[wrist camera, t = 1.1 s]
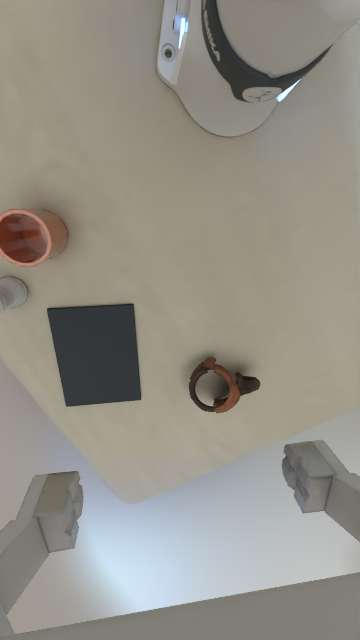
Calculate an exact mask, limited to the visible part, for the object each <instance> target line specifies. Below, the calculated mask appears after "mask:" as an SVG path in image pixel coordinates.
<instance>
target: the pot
mask: <svg viewBox="0 0 360 640" xmlns="http://www.w3.org/2000/svg"><path fill="white" fill-rule="evenodd" d="M67 241H68V232H67V229H66V226H65V224H64V223H63V221H62V220H61V219H60V218H59V217H58V216H57V215H56V214H54V213H52V212H50V211H47V210H36V209H11V210H8V211H6V212H4V213H2V214H0V254H1V255H2V256H3V257H4V258H5V259H7V260H8V261H9V262H11V263H13V264H16V265H19V266H23V267H26V266H35V265H37V264H40V263H42V262H44V261H46V260H48V259H50V258H52V257H54V256H55V255H57V254H59V253H60V252H62V251H63V250H64V248H65V247H66V245H67Z"/></svg>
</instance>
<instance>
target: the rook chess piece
mask: <svg viewBox="0 0 360 640" xmlns="http://www.w3.org/2000/svg"><path fill="white" fill-rule="evenodd" d="M26 298H27V289H26V287H25V285H24V284H23V283H22V282H21V281H20V280H18V279H15V278H13V277H5V278H2V279H0V314H1V313H2V311H3V310H4V309H5V307H6V308H14V307H17V306H19V305H21V304H23V303H24V302H25V301H26Z"/></svg>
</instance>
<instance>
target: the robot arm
mask: <svg viewBox="0 0 360 640" xmlns="http://www.w3.org/2000/svg"><path fill="white" fill-rule="evenodd" d="M359 20H360V0H164V3H163V11H162V20H161V28H160V37H159V45H158V54H157V62H156V71H157V74H158V76H159V77H160V79H161V80H162V81H163V82H164V83H165V84H167V85H168V86H169V87H170V88H171V89H173V90H174V91H175V92H176V93H177V95H178V96H179V98H180V99H181V101H182V103H183V105H184V107H185V109H186V110H187V112H188V113H189V115H190V116H191V117H192V118H193V119H194V121H195V122H196V123H197V124H199V125H200V126H201V127H202V128H204V129H205V130H207V131H209V132H211V133H213V134H216V135H220V136H225V137H234V136H240V135H243V134H246V133H249V132H251V131H252V130H254V129H256V128H257V127H259V126H260V125H261V124H262V123H263V122H264V121H265V120H266V119H267V118H268V117H269V116H270V114H271V113H272V112H273V110H274V109H275V107H276V105H277V104H278V102H279V101H281V100H282V99H283V98H284V97H285V96H286V95H287V94H288V92H289V91H290V90H291V89H292V88H293V87H294V86H296V85H297V84H298V83H299V81H300V80H301V79H302V78H303V77H304V76H305V75H306V74H307V73H308V72H309V71H310V70H311V69H312V68H313V67H314V66H316V65H317V64H318V63H319V62H320V61H321V59H322V58H323V57H324V56H325V55H326V53H327V52H328V51H329V49H330V48H331V46H332V45H333V43H334V42H335V41H336V40H338V39H339V38H340V37H341V36H342V35H343V34H344V33H346V32H347V31H348V30H349V29H350V28H351V27H352V26H354V25H355V24H356V23H357V22H358V21H359ZM166 52H169V53H170V54H171V57H170V58H167V57H166V56H165V53H166ZM284 453H285V455H286V457H285V458H284V459H283V460H282V470H283V474H284V477H285V480H286V482H287V484H288V486H290V487H291V488H292V489H294V490H295V493H294V497H295V499H296V501H297V503H298V505H299V506H300V508H301V510H302V512H303V513H310V512H318V511H325V513H326V514H328V515H329V516H330V517H331V518H333V519H334V520H335V521H336V522H337V523H338V524H339V525H340V526H342V527H343V528H344V529H345V530H346V531H348V532H349V533H350V534H351V535H352V536H353V537H355V538H356V539H357V540H358V541H359V542H360V476H358V475H356V474H354V473H349V472H348V470H347V469H346V468H345V467H344V465H343V464H342V463H341V462H340V460H339V459H338V458H337V457H336V455H335V454H334V453H333V452H332V450H331V449H330V448H329V447H328V445H327V444H326V443H325V442H324V441H323V440H316V441H310V442H308V441H307V442H301V443H293V444H286V445H285V447H284ZM79 480H80V476H79V472H78V471H73V472H61V473H53V474H52V473H51V474H44V475H35V477H34V478H33V479H32V481H31V484H30V486H29V488H28V491H27V493H26V496H25V498H24V501H23V503H22V505H21V508H20V510H19V513H18V515H17V517H16V520H12V521H10V522H9V523H8V524H7V525H6V526H5V527H4V528H3V529H2V530H1V531H0V640H360V572H359V573H354V574H348V575H343V576H337V577H331V578H326V579H320V580H315V581H309V582H303V583H298V584H292V585H287V586H281V587H275V588H270V589H265V590H259V591H253V592H248V593H242V594H236V595H231V596H225V597H220V598H215V599H209V600H203V601H198V602H192V603H187V604H181V605H175V606H170V607H165V608H159V609H154V610H148V611H142V612H137V613H132V614H125V615H120V616H114V617H109V618H104V619H98V620H92V621H87V622H81V623H76V624H70V625H64V626H59V627H54V628H48V629H42V630H37V631H31V632H26V633H20V634H15V633H14V631H13V629H12V627H11V625H10V622H9V620H8V618H7V616H6V615H7V614H8V612H9V610H10V609H11V608H12V606H13V605H14V604H15V602H16V601H17V599H18V598H19V596H20V595H21V594H22V592H23V591H24V589H25V588H26V587H27V585H28V584H29V582H30V581H31V579H32V578H33V576H34V575H35V574H36V572H37V571H38V569H39V568H40V566H41V565H42V564H43V562H44V561H45V559H46V558H47V557H48V555H49V553H51V552H56V551H62V550H67V549H73V548H75V542H76V538H77V533H78V528H79V527H78V523H77V519H78V518H79V517H80V516H81V513H82V507H83V489H82V486H81V485H79Z"/></svg>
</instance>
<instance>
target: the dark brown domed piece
mask: <svg viewBox="0 0 360 640" xmlns="http://www.w3.org/2000/svg"><path fill="white" fill-rule="evenodd" d="M215 361H216V359H215V358H208V359H206V360H205V362H202V363H200V364H199V365H198V366H197V368H196V369H195V370H194V371H193V373H192V375H191V377H190V380H191V381H190V383H189V391H190V396H191V399H192V400H193V401H194V402H195V404H196V405H197V406H198V407H199V408H201V409H202V410H204V411H208V412H214V411H216V413H222V412H225V411H228V410H230V409H231V408H232V407H233V406H234V405H235V404H237V402H238V401H239V398H240V396H242V395H244V394H248V393H251V392H253V391H255V390H258V389H259V387H260V381H259V380H258V379H257V378H255V377H248V376H243V375H241V374H240V373H238V372H237V373H236V375H237V380H236V383H235V382H234V380H235V379H236V378H235V377H234V376H233V375H232V374H231V373H230V371H228V370H227V369H225V368H224V367H223V366H221V365H218V364H215ZM207 370H214V372H215V373H217V374H220V375H221V376H223V377H224V378H225V380H226V381H227V383H228V385H229V395H228V397H226V398H224V399H215V400H214V404H213V406H214V407H212V406H207V405H205V404H203V403H202V402H201V401H200V400H199V399H198V397H197V395H196V392H195V385H196V382H197V380H198V379H199V377H200V376H202V375H203V374H205V373H207V372H208V371H207Z"/></svg>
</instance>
